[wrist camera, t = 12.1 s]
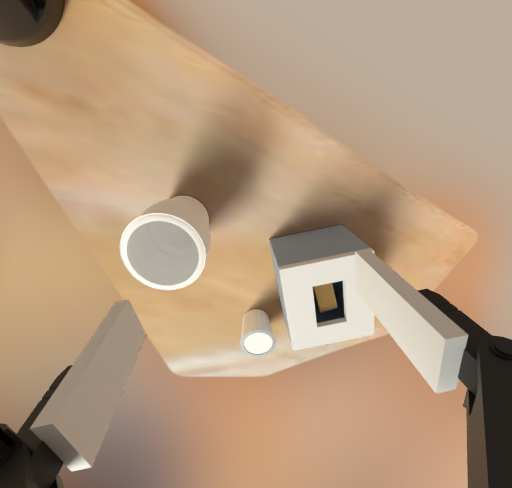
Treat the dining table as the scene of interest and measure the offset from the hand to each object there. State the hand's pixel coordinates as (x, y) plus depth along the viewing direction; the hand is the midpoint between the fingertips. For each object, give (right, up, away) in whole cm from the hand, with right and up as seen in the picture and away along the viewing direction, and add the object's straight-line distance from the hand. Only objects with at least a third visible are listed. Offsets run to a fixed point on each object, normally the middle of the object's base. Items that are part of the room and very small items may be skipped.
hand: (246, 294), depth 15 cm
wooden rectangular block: (+11, -2, +35) cm, 37 cm away
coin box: (+11, -2, +36) cm, 38 cm away
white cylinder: (0, -13, +40) cm, 42 cm away
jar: (-12, +7, +30) cm, 33 cm away
